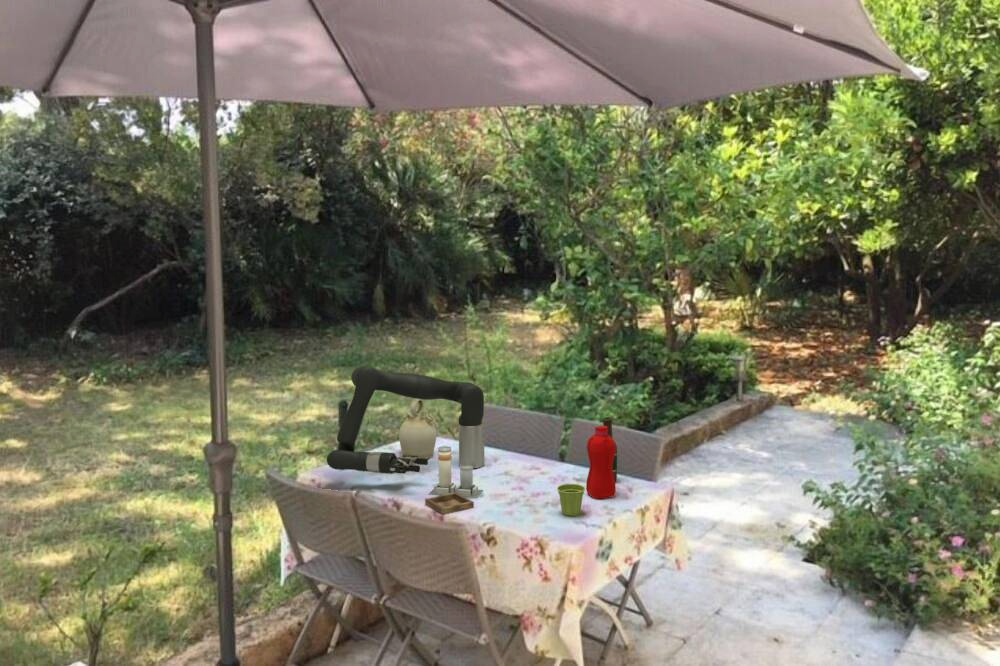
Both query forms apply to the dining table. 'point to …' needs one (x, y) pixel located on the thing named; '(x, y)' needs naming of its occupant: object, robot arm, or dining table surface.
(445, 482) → the cylinder
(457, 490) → the clip block
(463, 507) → the tray
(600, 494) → the water bottle
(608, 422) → the beer bottle
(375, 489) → the dining table surface
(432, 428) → the jug
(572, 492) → the plant pot
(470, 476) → the fuse
